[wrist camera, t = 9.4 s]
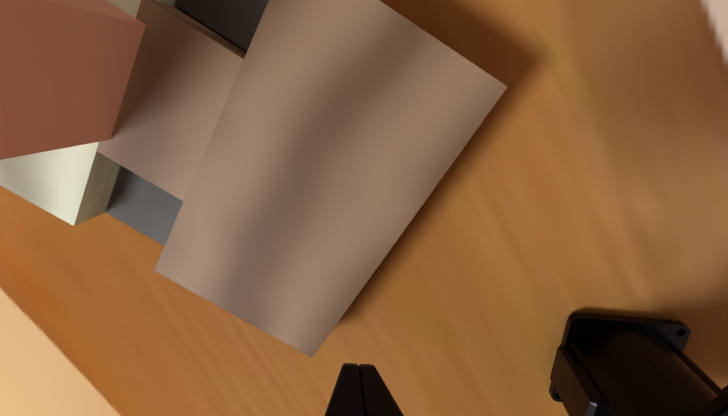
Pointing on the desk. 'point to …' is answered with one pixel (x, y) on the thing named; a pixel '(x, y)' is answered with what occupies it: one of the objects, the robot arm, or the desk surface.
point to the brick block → (62, 72)
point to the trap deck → (271, 150)
